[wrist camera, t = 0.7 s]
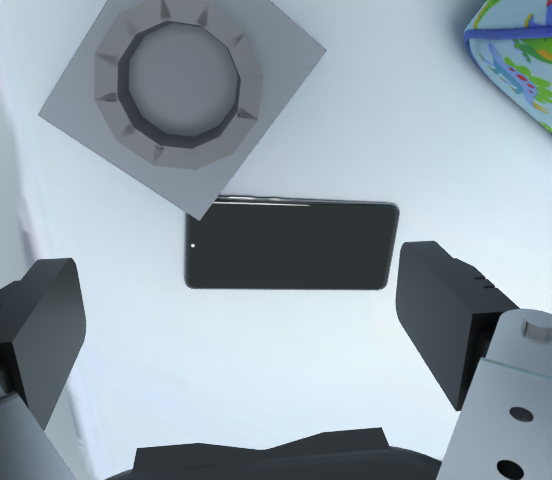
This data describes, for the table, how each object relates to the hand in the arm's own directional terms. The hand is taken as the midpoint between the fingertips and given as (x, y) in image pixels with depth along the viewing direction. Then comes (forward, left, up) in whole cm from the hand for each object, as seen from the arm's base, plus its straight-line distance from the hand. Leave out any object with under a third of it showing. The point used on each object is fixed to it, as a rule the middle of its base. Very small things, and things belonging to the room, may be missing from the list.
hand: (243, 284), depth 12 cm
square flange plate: (-1, -4, -23) cm, 24 cm away
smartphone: (+4, +9, -24) cm, 26 cm away
